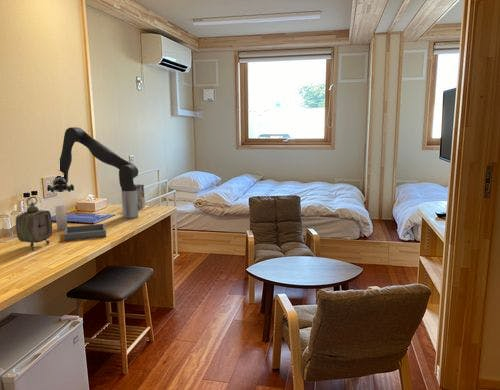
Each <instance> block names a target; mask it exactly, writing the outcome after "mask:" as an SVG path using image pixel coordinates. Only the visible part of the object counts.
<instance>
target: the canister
mask: <svg viewBox="0 0 500 390" xmlns="http://www.w3.org/2000/svg"><path fill="white" fill-rule="evenodd" d="M66 207H67V206H66V205H57V206H55V217H56V218H55V219H56V228H57V229H56V230H57V231H65V227H68V220H67V208H66Z"/></svg>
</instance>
